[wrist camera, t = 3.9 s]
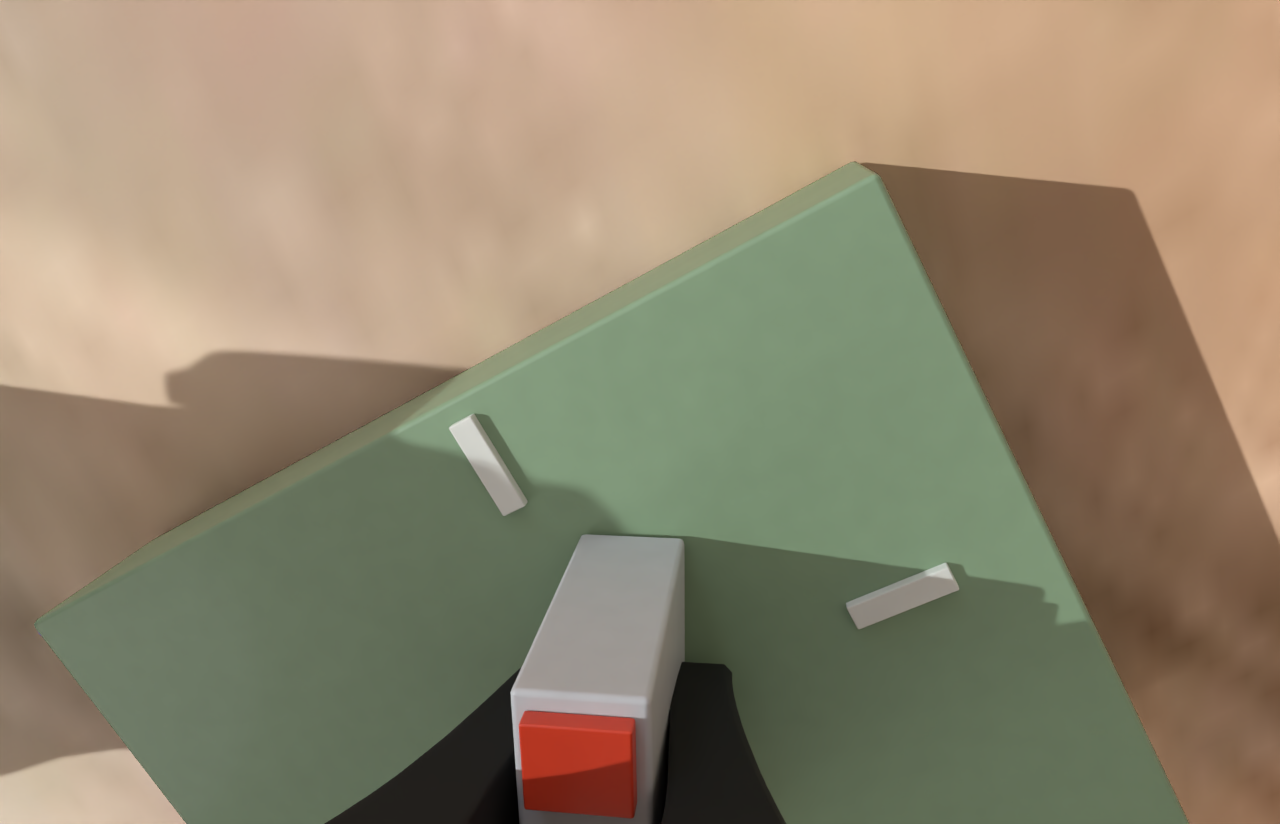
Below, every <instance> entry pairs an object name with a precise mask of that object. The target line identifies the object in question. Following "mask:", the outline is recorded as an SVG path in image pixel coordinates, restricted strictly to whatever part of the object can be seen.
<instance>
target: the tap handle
mask: <svg viewBox="0 0 1280 824" xmlns="http://www.w3.org/2000/svg"><path fill="white" fill-rule="evenodd" d="M682 662H685V559H684V542H683V540H682V539H679V538H656V537H634V536H611V535H589V534H585V535H582V536H581V538H580V540H579V542H578V544H577V546H576V549H575V551H574V553H573V555H572V557H571V560H570V562H569V564H568V566H567V568H566V571H565V573H564V575H563V577H562V579H561V582H560V584H559V586H558V588H557V590H556V593H555V595H554V597H553V599H552V601H551V604H550V606H549V608H548V610H547V612H546V615H545V617H544V619H543V621H542V624H541V626H540V628H539V630H538V632H537V635H536V637H535V639H534V641H533V643H532V646H531V648H530V650H529V652H528V654H527V657H526V659H525V661H524V663H523V665H522V668H521V670H520V672H519V674H518V676H517V679H516V681H515V683H514V685H513V687H512V690H511V692H510V694H511V709H512V723H513V738H514V752H515V766H516V781H517V795H518V810H519V824H661V822H662V818H663V813H664V808H665V801H666V792H667V783H668V757H669V730H670V705H671V700H672V696H673V692H674V688H675V684H676V680H677V676H678V673H679V670H680V666H681V663H682Z"/></svg>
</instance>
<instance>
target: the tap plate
mask: <svg viewBox="0 0 1280 824" xmlns="http://www.w3.org/2000/svg"><path fill="white" fill-rule="evenodd" d="M585 534H589V535H611V536H634V537H656V538H679V539H682V540H683V542H684V559H685V662H694V663H712V664H725V665H726V666H727V668H728V669H729V670H730V671H731V672H732V684H733V692H734V697H735V701H736V705H737V709H738V712H739V716H740V719H741V723H742V726H743V729H744V732H745V734H746V737H747V740H748V742H749V745H750V747H751V750H752V752H753V755H754V757H755V760H756V762H757V765H758V767H759V770H760V772H761V774H762V776H763V778H764V781H765V783H766V785H767V787H768V789H769V791H770V793H771V795H772V797H773V799H774V801H775V803H776V805H777V807H778V809H779V811H780V813H781V815H782V817H783V818H784V820H785V822H786V824H1189V822H1188V820H1187V818H1186V815H1185V813H1184V811H1183V809H1182V807H1181V805H1180V803H1179V801H1178V799H1177V797H1176V795H1175V792H1174V790H1173V788H1172V786H1171V784H1170V782H1169V780H1168V778H1167V776H1166V774H1165V771H1164V769H1163V767H1162V765H1161V763H1160V761H1159V759H1158V757H1157V755H1156V753H1155V751H1154V748H1153V746H1152V744H1151V742H1150V740H1149V738H1148V736H1147V734H1146V732H1145V730H1144V727H1143V725H1142V723H1141V721H1140V719H1139V717H1138V715H1137V713H1136V711H1135V709H1134V707H1133V704H1132V702H1131V700H1130V698H1129V696H1128V694H1127V692H1126V690H1125V688H1124V686H1123V683H1122V681H1121V679H1120V677H1119V675H1118V673H1117V671H1116V669H1115V667H1114V665H1113V663H1112V660H1111V658H1110V656H1109V654H1108V652H1107V650H1106V648H1105V646H1104V644H1103V642H1102V639H1101V637H1100V635H1099V633H1098V631H1097V629H1096V627H1095V625H1094V623H1093V621H1092V618H1091V616H1090V614H1089V612H1088V610H1087V608H1086V606H1085V604H1084V602H1083V600H1082V598H1081V595H1080V593H1079V591H1078V589H1077V587H1076V585H1075V583H1074V581H1073V579H1072V577H1071V574H1070V572H1069V570H1068V568H1067V566H1066V564H1065V562H1064V560H1063V558H1062V556H1061V554H1060V551H1059V549H1058V547H1057V545H1056V543H1055V541H1054V539H1053V537H1052V535H1051V533H1050V530H1049V528H1048V526H1047V524H1046V522H1045V520H1044V518H1043V516H1042V514H1041V512H1040V510H1039V507H1038V505H1037V503H1036V501H1035V499H1034V497H1033V495H1032V493H1031V491H1030V489H1029V486H1028V484H1027V482H1026V480H1025V478H1024V476H1023V474H1022V472H1021V470H1020V468H1019V466H1018V463H1017V461H1016V459H1015V457H1014V455H1013V453H1012V451H1011V449H1010V447H1009V445H1008V442H1007V440H1006V438H1005V436H1004V434H1003V432H1002V430H1001V428H1000V426H999V424H998V422H997V419H996V417H995V415H994V413H993V411H992V409H991V407H990V405H989V403H988V401H987V398H986V396H985V394H984V392H983V390H982V388H981V386H980V384H979V382H978V380H977V378H976V375H975V373H974V371H973V369H972V367H971V365H970V363H969V361H968V359H967V357H966V354H965V352H964V350H963V348H962V346H961V344H960V342H959V340H958V338H957V336H956V334H955V331H954V329H953V327H952V325H951V323H950V321H949V319H948V317H947V315H946V313H945V310H944V308H943V306H942V304H941V302H940V300H939V298H938V296H937V294H936V292H935V289H934V287H933V285H932V283H931V281H930V279H929V277H928V275H927V273H926V271H925V269H924V266H923V264H922V262H921V260H920V258H919V256H918V254H917V252H916V250H915V248H914V245H913V243H912V241H911V239H910V237H909V235H908V233H907V231H906V229H905V227H904V225H903V222H902V220H901V218H900V216H899V214H898V212H897V210H896V208H895V206H894V204H893V201H892V199H891V197H890V195H889V193H888V191H887V189H886V187H885V185H884V183H883V181H882V178H881V177H880V176H879V175H878V174H877V173H875V172H873V171H871V170H869V169H868V168H866V167H864V166H862V165H861V164H859V163H857V162H851V163H849V164H847V165H845V166H843V167H841V168H839V169H838V170H836V171H834V172H832V173H830V174H828V175H827V176H825V177H823V178H821V179H819V180H817V181H815V182H814V183H812V184H810V185H808V186H806V187H804V188H802V189H801V190H799V191H797V192H795V193H793V194H791V195H790V196H788V197H786V198H784V199H782V200H780V201H778V202H777V203H775V204H773V205H771V206H769V207H767V208H766V209H764V210H762V211H760V212H758V213H756V214H754V215H753V216H751V217H749V218H747V219H745V220H743V221H741V222H740V223H738V224H736V225H734V226H732V227H730V228H729V229H727V230H725V231H723V232H721V233H719V234H717V235H716V236H714V237H712V238H710V239H708V240H706V241H705V242H703V243H701V244H699V245H697V246H695V247H693V248H692V249H690V250H688V251H686V252H684V253H682V254H681V255H679V256H677V257H675V258H673V259H671V260H669V261H668V262H666V263H664V264H662V265H660V266H658V267H656V268H655V269H653V270H651V271H649V272H647V273H645V274H644V275H642V276H640V277H638V278H636V279H634V280H632V281H631V282H629V283H627V284H625V285H623V286H621V287H620V288H618V289H616V290H614V291H612V292H610V293H608V294H607V295H605V296H603V297H601V298H599V299H597V300H595V301H594V302H592V303H590V304H588V305H586V306H584V307H583V308H581V309H579V310H577V311H575V312H573V313H571V314H570V315H568V316H566V317H564V318H562V319H560V320H559V321H557V322H555V323H553V324H551V325H549V326H547V327H546V328H544V329H542V330H540V331H538V332H536V333H535V334H533V335H531V336H529V337H527V338H525V339H523V340H522V341H520V342H518V343H516V344H514V345H512V346H510V347H509V348H507V349H505V350H503V351H501V352H499V353H498V354H496V355H494V356H492V357H490V358H488V359H486V360H485V361H483V362H481V363H479V364H477V365H475V366H474V367H472V368H470V369H468V370H466V371H464V372H462V373H461V374H459V375H457V376H455V377H453V378H451V379H449V380H448V381H446V382H444V383H442V384H440V385H438V386H437V387H435V388H433V389H431V390H429V391H427V392H425V393H424V394H422V395H420V396H418V397H416V398H414V399H413V400H411V401H409V402H407V403H405V404H403V405H401V406H400V407H398V408H396V409H394V410H392V411H390V412H389V413H387V414H385V415H383V416H381V417H379V418H377V419H376V420H374V421H372V422H370V423H368V424H366V425H364V426H363V427H361V428H359V429H357V430H355V431H353V432H352V433H350V434H348V435H346V436H344V437H342V438H340V439H339V440H337V441H335V442H333V443H331V444H329V445H328V446H326V447H324V448H322V449H320V450H318V451H316V452H315V453H313V454H311V455H309V456H307V457H305V458H303V459H302V460H300V461H298V462H296V463H294V464H292V465H291V466H289V467H287V468H285V469H283V470H281V471H279V472H278V473H276V474H274V475H272V476H270V477H268V478H267V479H265V480H263V481H261V482H259V483H257V484H255V485H254V486H252V487H250V488H248V489H246V490H244V491H242V492H241V493H239V494H237V495H235V496H233V497H231V498H230V499H228V500H226V501H224V502H222V503H220V504H218V505H217V506H215V507H213V508H211V509H209V510H207V511H206V512H204V513H202V514H200V515H198V516H196V517H194V518H193V519H191V520H189V521H187V522H185V523H183V524H182V525H180V526H178V527H176V528H174V529H172V530H170V531H169V532H167V533H165V534H163V535H161V536H159V537H157V538H156V539H154V540H152V541H151V542H149V543H148V544H146V545H145V546H144V547H142V548H141V549H139V550H138V551H136V552H135V553H133V554H132V555H130V556H129V557H127V558H126V559H125V560H123V561H122V562H120V563H119V564H117V565H116V566H114V567H113V568H111V569H110V570H109V571H107V572H106V573H104V574H103V575H101V576H100V577H98V578H97V579H95V580H94V581H93V582H91V583H90V584H88V585H87V586H85V587H84V588H82V589H81V590H79V591H78V592H76V593H75V594H74V595H72V596H71V597H69V598H68V599H66V600H65V601H63V602H62V603H60V604H59V605H58V606H56V607H55V608H53V609H52V610H50V611H49V612H47V613H46V614H44V615H43V616H42V617H40V618H39V619H37V621H36V622H35V624H34V626H35V628H36V629H37V631H38V632H39V633H40V634H41V636H42V637H43V638H44V640H45V641H46V642H47V644H48V645H49V646H50V647H51V649H52V650H53V651H54V653H55V654H56V655H57V656H58V658H59V659H60V660H61V662H62V663H63V664H64V666H65V667H66V668H67V669H68V671H69V672H70V673H71V675H72V676H73V677H74V679H75V680H76V681H77V682H78V684H79V685H80V686H81V688H82V689H83V690H84V692H85V693H86V694H87V695H88V697H89V698H90V699H91V701H92V702H93V703H94V704H95V706H96V707H97V708H98V710H99V711H100V712H101V714H102V715H103V716H104V717H105V719H106V720H107V721H108V723H109V724H110V725H111V727H112V728H113V729H114V730H115V732H116V733H117V734H118V736H119V737H120V738H121V739H122V741H123V742H124V743H125V745H126V746H127V747H128V749H129V750H130V751H131V752H132V754H133V755H134V756H135V758H136V759H137V760H138V762H139V763H140V764H141V765H142V767H143V768H144V769H145V771H146V772H147V773H148V774H149V776H150V777H151V778H152V780H153V781H154V782H155V784H156V785H157V786H158V787H159V789H160V790H161V791H162V793H163V794H164V795H165V797H166V798H167V799H168V800H169V802H170V803H171V804H172V806H173V807H174V808H175V810H176V811H177V812H178V813H179V815H180V816H181V817H182V819H183V820H184V821H185V822H186V824H324V823H326V822H328V821H329V820H331V819H333V818H334V817H336V816H338V815H339V814H341V813H342V812H344V811H345V810H347V809H348V808H350V807H351V806H353V805H354V804H356V803H357V802H359V801H360V800H362V799H364V798H365V797H367V796H368V795H370V794H371V793H373V792H374V791H375V790H377V789H378V788H380V787H381V786H383V785H384V784H385V783H387V782H388V781H390V780H391V779H392V778H394V777H395V776H396V775H398V774H399V773H400V772H402V771H403V770H404V769H405V768H407V767H408V766H409V765H410V764H412V763H413V762H414V761H415V760H417V759H418V758H419V757H420V756H422V755H423V754H424V753H425V752H427V751H428V750H429V749H430V748H432V747H433V746H434V745H435V744H437V743H438V742H439V741H440V740H442V739H443V738H444V737H445V736H446V735H447V734H449V733H450V732H451V731H452V730H453V729H454V728H455V727H456V726H458V725H459V724H460V723H461V722H462V721H463V720H464V719H465V718H467V717H468V716H469V715H470V714H471V713H472V712H473V711H474V710H476V709H477V708H478V707H479V706H480V705H481V704H482V703H483V702H484V701H485V700H486V699H487V698H489V697H490V696H491V695H492V694H493V693H494V692H495V691H496V690H497V689H498V688H499V687H500V686H501V685H502V684H503V683H505V682H506V681H507V680H508V679H509V678H510V677H511V676H512V675H513V674H514V673H515V672H516V671H517V670H518V669H519V668H521V667H522V665H523V663H524V661H525V659H526V657H527V654H528V652H529V650H530V648H531V646H532V643H533V641H534V639H535V637H536V635H537V632H538V630H539V628H540V626H541V624H542V621H543V619H544V617H545V615H546V612H547V610H548V608H549V606H550V604H551V601H552V599H553V597H554V595H555V593H556V590H557V588H558V586H559V584H560V582H561V579H562V577H563V575H564V573H565V571H566V568H567V566H568V564H569V562H570V560H571V557H572V555H573V553H574V551H575V549H576V546H577V544H578V542H579V540H580V538H581V536H582V535H585Z"/></svg>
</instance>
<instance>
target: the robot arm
mask: <svg viewBox="0 0 1280 824" xmlns="http://www.w3.org/2000/svg"><path fill="white" fill-rule="evenodd" d="M521 668H522V667H521ZM521 668H519V669H518V670H517V671H516V672H515V673H514V674H513V675H512V676H511V677H510V678H509V679H508V680H507V681H506V682H505V683H503V684H502V685H501V686H500V687H499V688H498V689H497V690H496V691H495V692H494V693H493V694H492V695H491V696H490V697H489V698H487V699H486V700H485V701H484V702H483V703H482V704H481V705H480V706H479V707H478V708H477V709H476V710H474V711H473V712H472V713H471V714H470V715H469V716H468V717H467V718H465V719H464V720H463V721H462V722H461V723H460V724H459V725H458V726H456V727H455V728H454V729H453V730H452V731H451V732H450V733H449V734H447V735H446V736H445V737H444V738H443V739H442V740H440V741H439V742H438V743H437V744H435V745H434V746H433V747H432V748H430V749H429V750H428V751H427V752H425V753H424V754H423V755H422V756H420V757H419V758H418V759H417V760H415V761H414V762H413V763H412V764H410V765H409V766H408V767H407V768H405V769H404V770H403V771H402V772H400V773H399V774H398V775H396V776H395V777H394V778H392V779H391V780H390V781H388V782H387V783H385V784H384V785H383V786H381V787H380V788H378V789H377V790H375V791H374V792H373V793H371V794H370V795H368V796H367V797H365V798H364V799H362V800H360V801H359V802H357V803H356V804H354V805H353V806H351V807H350V808H348V809H347V810H345V811H344V812H342V813H341V814H339V815H338V816H336V817H334V818H333V819H331V820H329V821H328V822H326V823H324V824H519V810H518V795H517V781H516V766H515V752H514V738H513V723H512V709H511V694H510V692H511V690H512V687H513V685H514V683H515V681H516V679H517V676H518V674H519V672H520V670H521ZM661 824H786V822H785V820H784V818H783V817H782V815H781V813H780V811H779V809H778V807H777V805H776V803H775V801H774V799H773V797H772V795H771V793H770V791H769V789H768V787H767V785H766V783H765V781H764V778H763V776H762V774H761V772H760V770H759V767H758V765H757V762H756V760H755V757H754V755H753V752H752V750H751V747H750V745H749V742H748V740H747V737H746V734H745V732H744V729H743V726H742V723H741V719H740V716H739V712H738V709H737V705H736V701H735V697H734V692H733V684H732V672H731V671H730V670H729V669H728V668H727V666H726V665H725V664H712V663H694V662H682V663H681V666H680V670H679V673H678V676H677V680H676V684H675V688H674V692H673V696H672V700H671V705H670V730H669V757H668V783H667V792H666V801H665V808H664V813H663V818H662V822H661Z"/></svg>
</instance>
